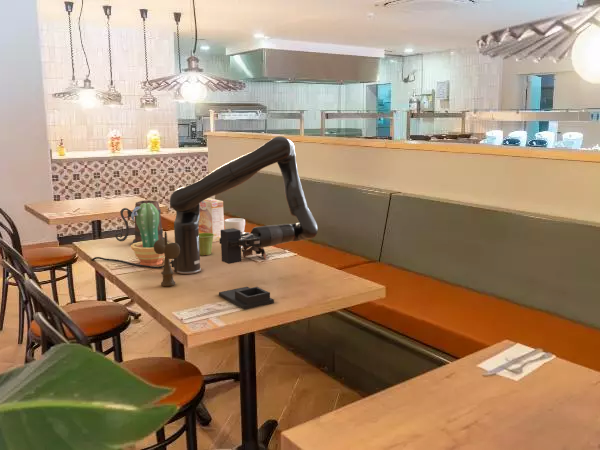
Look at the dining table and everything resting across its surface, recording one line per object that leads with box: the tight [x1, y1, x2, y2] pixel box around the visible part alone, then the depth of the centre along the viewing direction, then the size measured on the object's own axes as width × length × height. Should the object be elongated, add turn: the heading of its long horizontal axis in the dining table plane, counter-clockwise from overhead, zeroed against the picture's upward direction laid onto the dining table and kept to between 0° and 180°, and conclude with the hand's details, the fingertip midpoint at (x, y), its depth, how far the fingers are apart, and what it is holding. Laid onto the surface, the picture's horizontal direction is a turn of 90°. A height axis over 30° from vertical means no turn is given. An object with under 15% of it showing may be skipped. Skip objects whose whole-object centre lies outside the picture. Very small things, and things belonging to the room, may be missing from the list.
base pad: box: [218, 286, 275, 310], centre depth 192 cm, size 18×11×4 cm, turn 37°
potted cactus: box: [130, 203, 170, 266], centre depth 235 cm, size 15×15×25 cm
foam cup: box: [224, 217, 246, 249], centre depth 264 cm, size 10×9×13 cm
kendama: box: [154, 231, 180, 288], centre depth 205 cm, size 6×10×20 cm, turn 43°
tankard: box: [114, 199, 165, 246], centre depth 270 cm, size 24×17×20 cm
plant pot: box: [199, 233, 214, 257], centre depth 252 cm, size 9×9×9 cm
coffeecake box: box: [199, 197, 225, 243], centre depth 282 cm, size 15×7×20 cm, turn 43°
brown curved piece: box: [241, 246, 267, 260], centre depth 247 cm, size 12×10×8 cm
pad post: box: [220, 228, 242, 265], centre depth 197 cm, size 5×5×11 cm
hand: (224, 242), depth 195 cm, fingers closed on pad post, 5 cm apart
